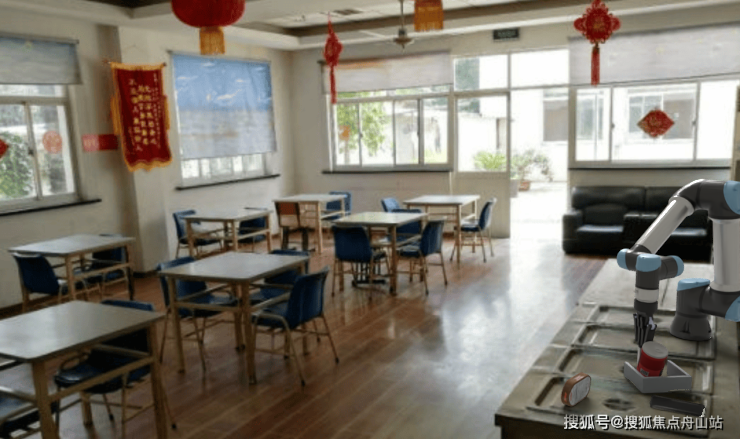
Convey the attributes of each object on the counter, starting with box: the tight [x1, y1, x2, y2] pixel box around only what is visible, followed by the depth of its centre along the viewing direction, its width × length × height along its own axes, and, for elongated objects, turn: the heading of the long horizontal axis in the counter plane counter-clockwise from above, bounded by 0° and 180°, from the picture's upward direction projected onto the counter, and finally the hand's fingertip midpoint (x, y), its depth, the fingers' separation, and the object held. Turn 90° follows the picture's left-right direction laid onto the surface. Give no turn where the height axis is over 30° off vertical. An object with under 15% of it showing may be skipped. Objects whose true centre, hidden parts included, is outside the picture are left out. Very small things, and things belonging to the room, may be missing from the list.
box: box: [623, 359, 693, 394], centre depth 198 cm, size 16×14×5 cm
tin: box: [560, 371, 592, 407], centre depth 187 cm, size 15×3×8 cm, turn 133°
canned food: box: [636, 340, 669, 377], centre depth 201 cm, size 8×8×11 cm
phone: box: [649, 394, 706, 418], centre depth 182 cm, size 8×1×15 cm
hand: (641, 364), depth 208 cm, fingers closed
